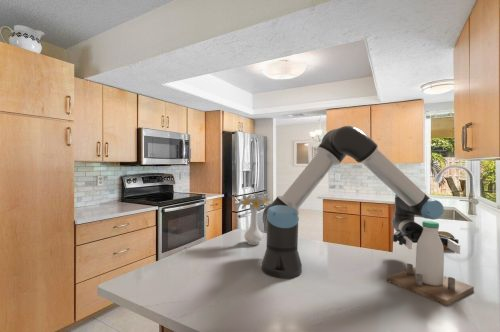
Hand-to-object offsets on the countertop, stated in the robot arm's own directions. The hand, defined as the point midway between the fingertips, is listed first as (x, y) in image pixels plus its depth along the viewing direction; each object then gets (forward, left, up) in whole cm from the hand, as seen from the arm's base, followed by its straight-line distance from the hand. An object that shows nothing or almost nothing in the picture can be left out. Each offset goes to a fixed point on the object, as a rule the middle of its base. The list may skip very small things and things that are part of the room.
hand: (434, 247), depth 85 cm
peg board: (-2, +2, -14) cm, 14 cm away
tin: (-22, +51, -14) cm, 58 cm away
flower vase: (-69, -27, -14) cm, 76 cm away
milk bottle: (-2, +2, -13) cm, 13 cm away
